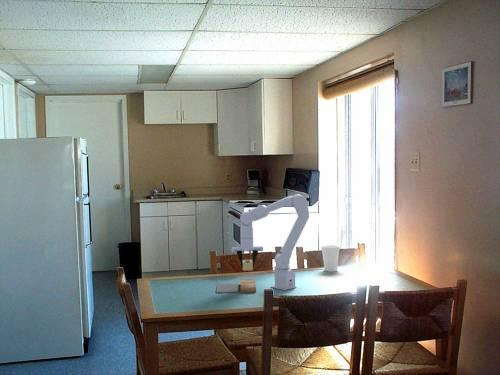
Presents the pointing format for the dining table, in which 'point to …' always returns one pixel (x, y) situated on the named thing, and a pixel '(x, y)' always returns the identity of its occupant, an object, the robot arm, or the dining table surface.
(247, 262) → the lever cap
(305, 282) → the dining table surface
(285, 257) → the robot arm
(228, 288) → the mat
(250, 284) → the body
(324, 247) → the foam cup
